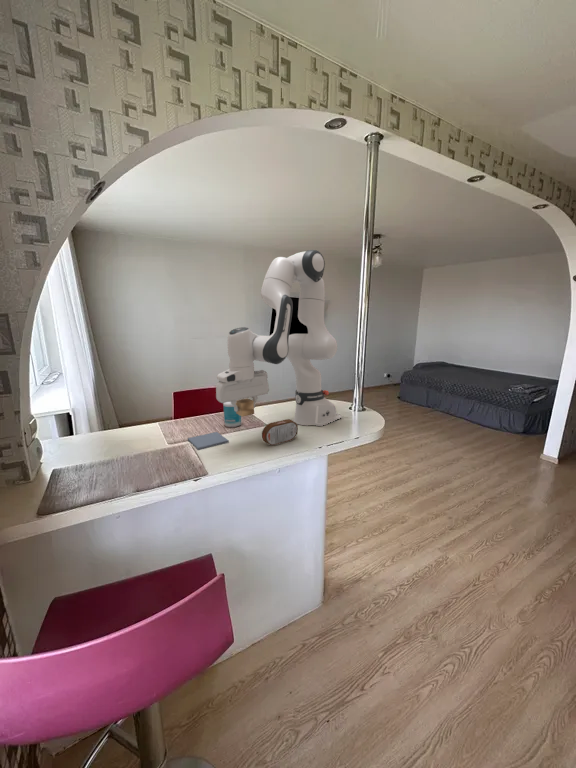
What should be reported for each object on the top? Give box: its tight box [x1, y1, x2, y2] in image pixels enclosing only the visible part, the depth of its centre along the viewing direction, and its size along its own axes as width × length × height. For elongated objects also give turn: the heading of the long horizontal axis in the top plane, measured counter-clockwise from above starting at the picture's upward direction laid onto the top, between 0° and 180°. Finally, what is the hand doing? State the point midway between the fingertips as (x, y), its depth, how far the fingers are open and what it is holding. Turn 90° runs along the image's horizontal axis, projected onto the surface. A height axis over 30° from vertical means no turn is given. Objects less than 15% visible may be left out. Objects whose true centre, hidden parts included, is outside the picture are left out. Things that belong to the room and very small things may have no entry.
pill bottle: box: [222, 401, 243, 428], centre depth 145 cm, size 8×7×14 cm
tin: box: [261, 418, 299, 446], centre depth 124 cm, size 15×3×8 cm, turn 124°
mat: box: [187, 431, 230, 451], centre depth 128 cm, size 12×12×1 cm
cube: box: [236, 398, 255, 418], centre depth 123 cm, size 5×5×5 cm
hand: (244, 409), depth 123 cm, fingers closed on cube, 5 cm apart
